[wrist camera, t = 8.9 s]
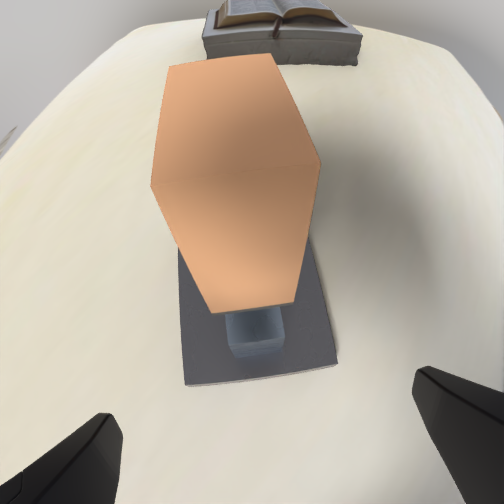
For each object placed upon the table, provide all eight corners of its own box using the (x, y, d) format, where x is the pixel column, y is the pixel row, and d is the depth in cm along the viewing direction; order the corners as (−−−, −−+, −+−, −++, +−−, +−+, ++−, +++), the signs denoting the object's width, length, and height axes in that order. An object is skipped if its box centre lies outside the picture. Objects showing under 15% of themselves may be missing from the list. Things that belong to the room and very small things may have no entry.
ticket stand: (334, 366, 20) (411, 304, 9) (189, 386, 19) (99, 348, 8) (295, 203, 26) (306, 76, 16) (181, 219, 26) (137, 98, 15)
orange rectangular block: (292, 304, 11) (321, 163, 5) (212, 315, 11) (149, 186, 5) (271, 200, 14) (270, 53, 8) (205, 209, 14) (168, 66, 8)
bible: (362, 82, 38) (372, 25, 30) (184, 74, 41) (174, 19, 32) (344, 34, 50) (348, -6, 41) (216, 29, 52) (212, -10, 44)
